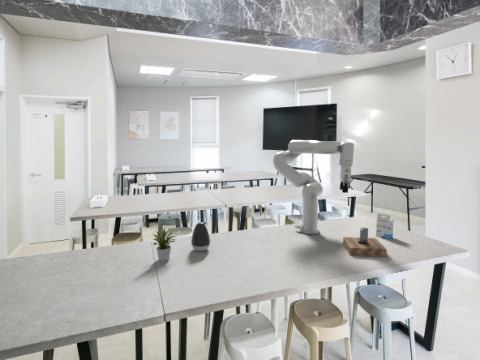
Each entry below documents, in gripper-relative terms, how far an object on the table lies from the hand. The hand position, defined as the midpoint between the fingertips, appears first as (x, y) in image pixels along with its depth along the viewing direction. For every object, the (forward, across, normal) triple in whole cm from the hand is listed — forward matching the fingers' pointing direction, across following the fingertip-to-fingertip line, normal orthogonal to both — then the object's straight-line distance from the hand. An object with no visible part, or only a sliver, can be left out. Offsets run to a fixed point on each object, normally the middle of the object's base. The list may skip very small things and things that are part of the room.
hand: (343, 191), depth 188 cm
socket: (+28, -22, -9) cm, 37 cm away
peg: (+28, -22, -9) cm, 37 cm away
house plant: (+31, -54, +93) cm, 112 cm away
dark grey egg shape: (+31, -36, +78) cm, 92 cm away
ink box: (+28, +5, -27) cm, 39 cm away
